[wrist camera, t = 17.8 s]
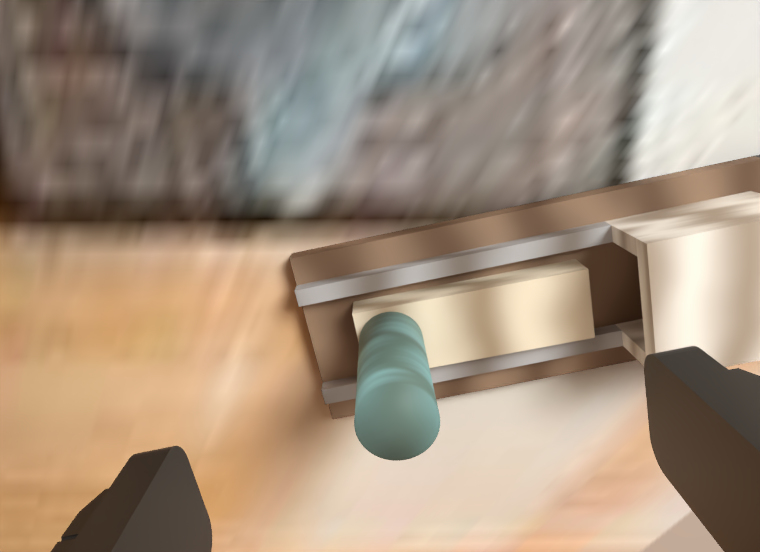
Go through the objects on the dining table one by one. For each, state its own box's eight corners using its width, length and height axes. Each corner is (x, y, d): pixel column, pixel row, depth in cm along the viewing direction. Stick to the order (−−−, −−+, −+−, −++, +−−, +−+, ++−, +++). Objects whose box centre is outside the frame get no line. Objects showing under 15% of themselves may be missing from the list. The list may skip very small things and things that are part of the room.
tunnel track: (333, 409, 46) (326, 471, 38) (292, 253, 42) (274, 287, 34) (870, 303, 44) (976, 347, 36) (876, 130, 40) (996, 137, 32)
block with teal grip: (367, 364, 43) (365, 471, 31) (353, 301, 42) (344, 388, 29) (582, 324, 42) (669, 417, 30) (575, 259, 41) (664, 329, 28)
